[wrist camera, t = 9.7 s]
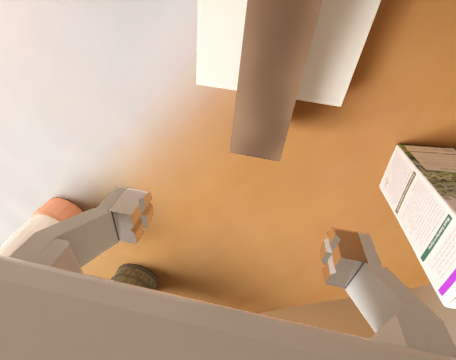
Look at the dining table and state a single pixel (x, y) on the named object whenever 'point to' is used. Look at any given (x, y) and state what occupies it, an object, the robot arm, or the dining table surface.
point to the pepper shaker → (40, 222)
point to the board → (317, 57)
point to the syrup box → (426, 209)
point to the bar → (271, 73)
